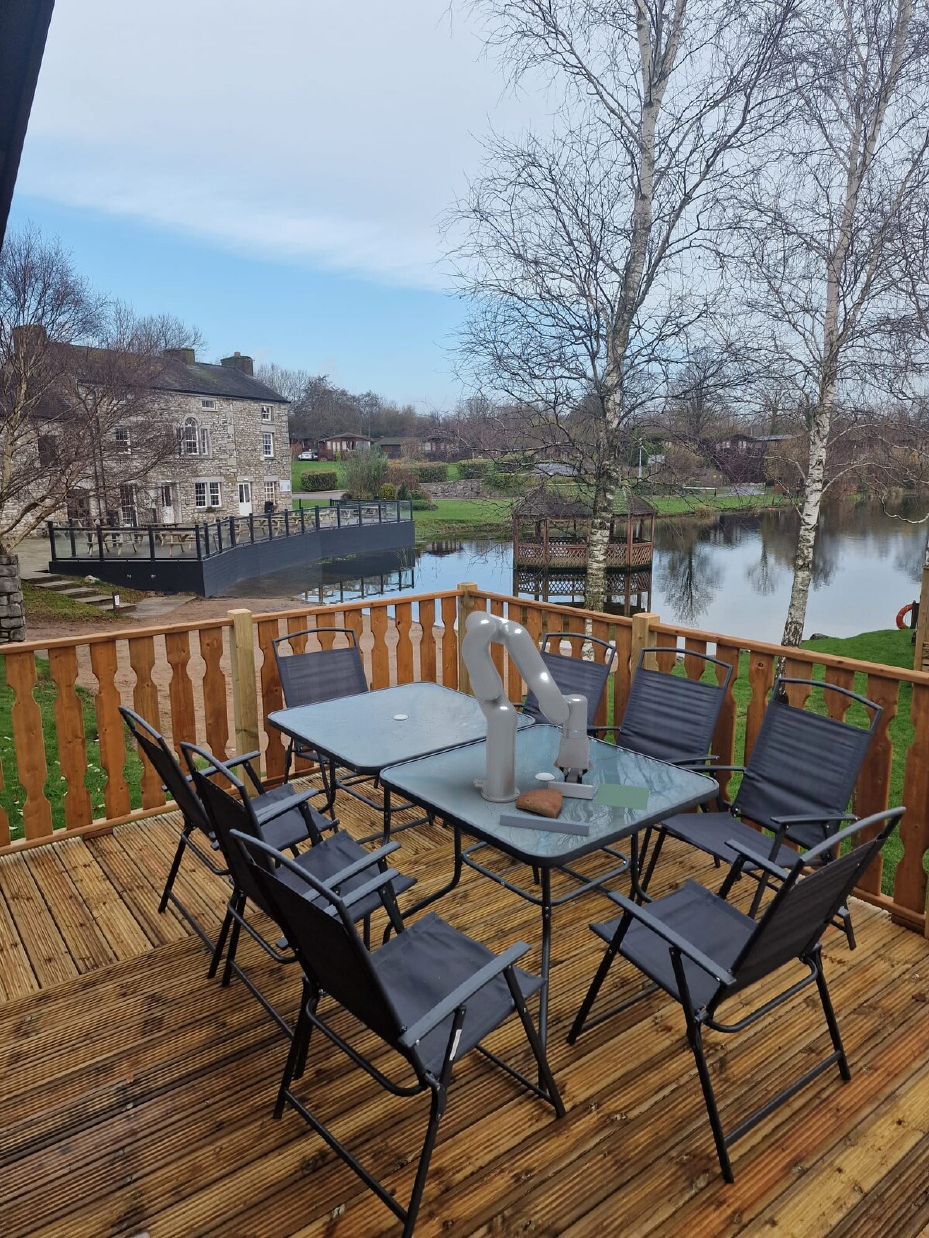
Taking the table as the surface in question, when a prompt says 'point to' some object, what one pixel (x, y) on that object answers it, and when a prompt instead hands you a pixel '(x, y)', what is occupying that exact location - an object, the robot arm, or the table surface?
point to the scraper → (572, 786)
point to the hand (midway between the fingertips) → (573, 785)
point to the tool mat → (622, 796)
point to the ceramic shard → (541, 802)
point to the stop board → (544, 823)
